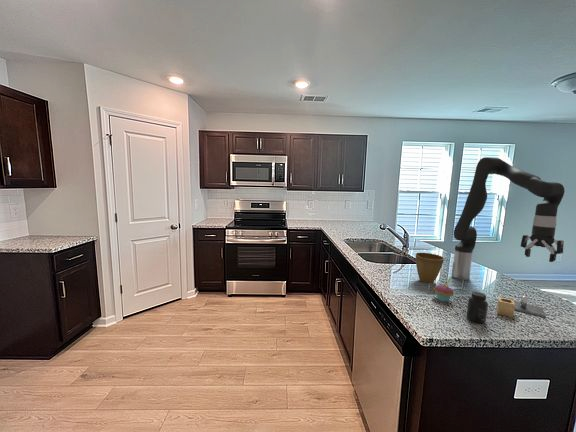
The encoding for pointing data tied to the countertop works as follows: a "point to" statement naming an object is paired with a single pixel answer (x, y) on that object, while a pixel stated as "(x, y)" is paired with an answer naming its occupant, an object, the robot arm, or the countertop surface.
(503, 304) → the tan cube
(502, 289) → the countertop surface
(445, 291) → the cupcake
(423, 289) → the countertop surface
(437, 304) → the countertop surface
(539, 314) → the post fixture
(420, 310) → the countertop surface
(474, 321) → the supplement bottle
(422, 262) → the plant pot
